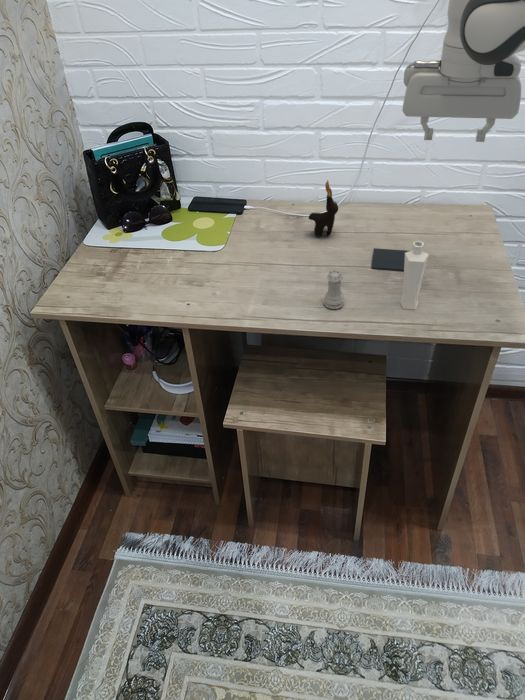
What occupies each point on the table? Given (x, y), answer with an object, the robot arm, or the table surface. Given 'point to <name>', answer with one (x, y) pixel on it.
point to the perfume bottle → (413, 275)
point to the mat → (388, 259)
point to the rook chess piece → (334, 291)
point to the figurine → (325, 215)
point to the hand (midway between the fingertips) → (453, 140)
